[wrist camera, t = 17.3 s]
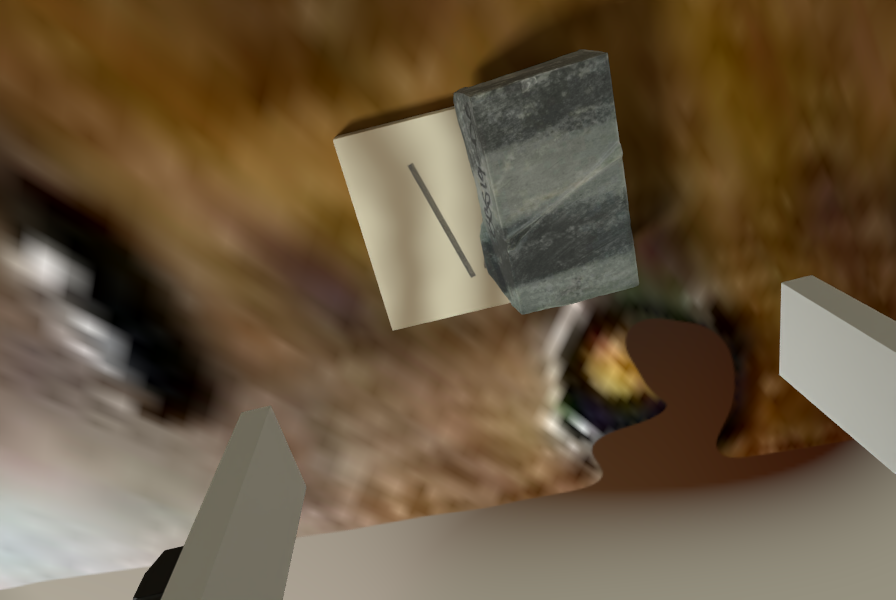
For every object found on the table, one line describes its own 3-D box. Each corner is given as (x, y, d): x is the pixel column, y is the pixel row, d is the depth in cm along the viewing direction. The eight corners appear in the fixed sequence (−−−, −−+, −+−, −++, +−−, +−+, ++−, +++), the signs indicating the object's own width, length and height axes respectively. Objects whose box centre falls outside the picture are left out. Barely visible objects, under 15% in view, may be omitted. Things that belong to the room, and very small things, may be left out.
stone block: (494, 294, 41) (503, 327, 36) (440, 89, 35) (443, 96, 30) (616, 261, 40) (642, 291, 35) (582, 47, 34) (608, 47, 30)
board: (393, 321, 43) (392, 330, 41) (335, 136, 37) (332, 139, 36) (614, 268, 42) (621, 276, 41) (590, 71, 36) (597, 72, 35)
